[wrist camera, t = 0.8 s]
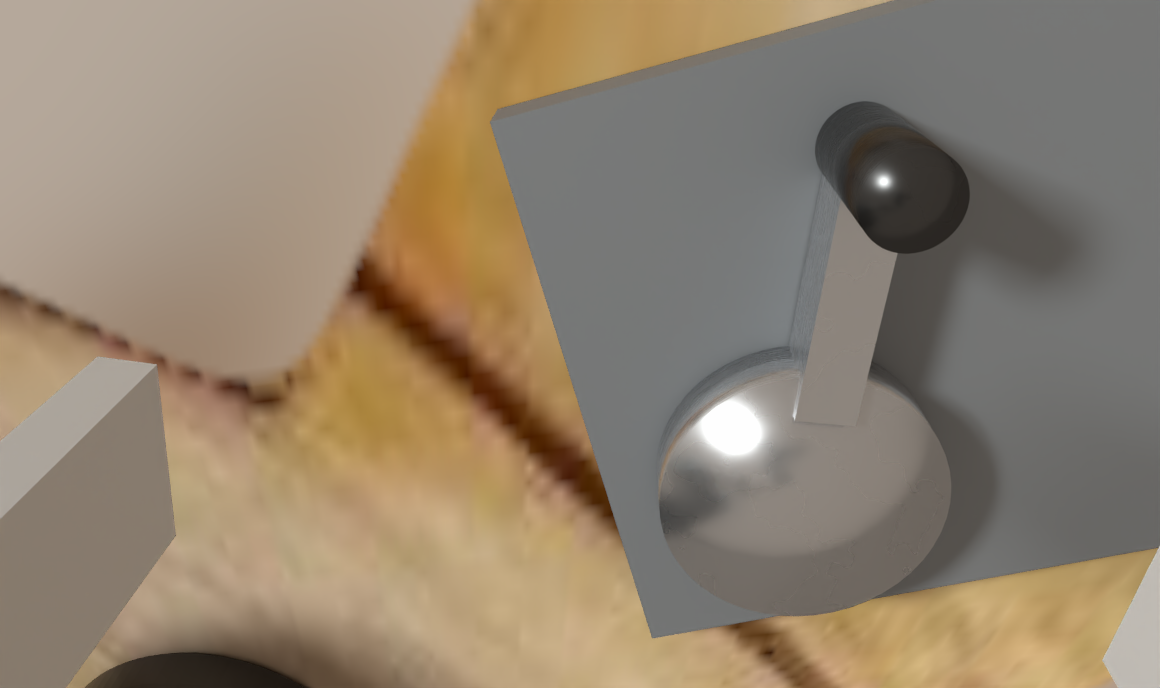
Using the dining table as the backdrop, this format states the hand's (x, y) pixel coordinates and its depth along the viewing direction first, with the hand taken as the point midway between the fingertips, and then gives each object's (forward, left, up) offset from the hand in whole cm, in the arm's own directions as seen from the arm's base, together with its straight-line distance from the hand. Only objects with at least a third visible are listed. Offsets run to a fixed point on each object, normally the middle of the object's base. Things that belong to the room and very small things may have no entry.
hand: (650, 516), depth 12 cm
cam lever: (+4, -9, -19) cm, 22 cm away
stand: (+8, -9, -21) cm, 25 cm away
